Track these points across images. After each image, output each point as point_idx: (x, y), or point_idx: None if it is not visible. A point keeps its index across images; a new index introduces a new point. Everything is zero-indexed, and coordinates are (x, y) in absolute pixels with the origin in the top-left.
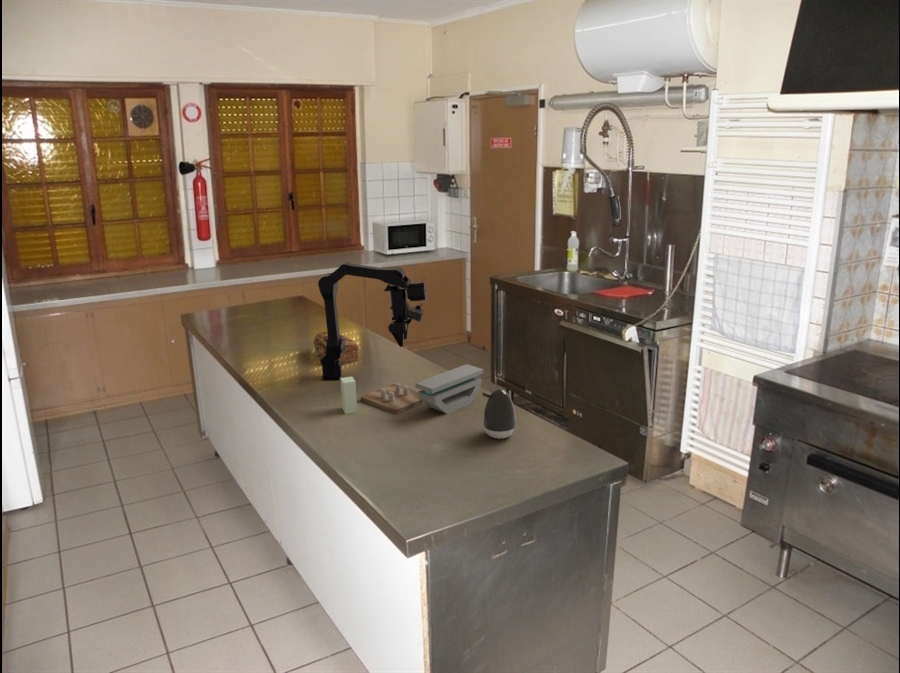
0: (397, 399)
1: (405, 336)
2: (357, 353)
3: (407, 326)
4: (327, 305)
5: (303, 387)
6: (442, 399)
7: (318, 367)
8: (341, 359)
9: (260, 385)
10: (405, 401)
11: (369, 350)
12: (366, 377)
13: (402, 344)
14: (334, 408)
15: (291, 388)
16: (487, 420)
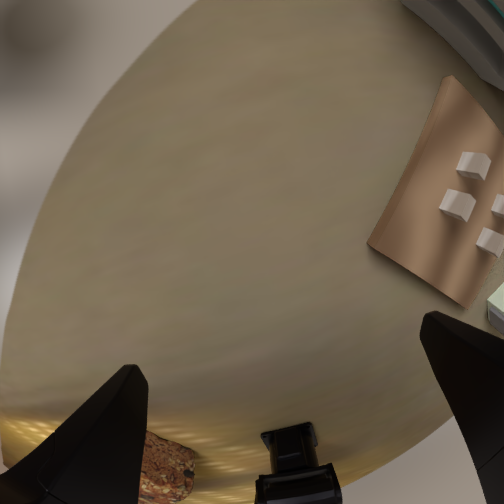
0: (490, 187)
1: (131, 395)
2: None
3: (56, 488)
4: None
5: (362, 444)
6: (483, 39)
7: (224, 469)
8: (183, 458)
9: (347, 481)
10: (497, 157)
11: (55, 405)
12: (269, 375)
13: (454, 322)
14: None
15: (366, 453)
16: None
